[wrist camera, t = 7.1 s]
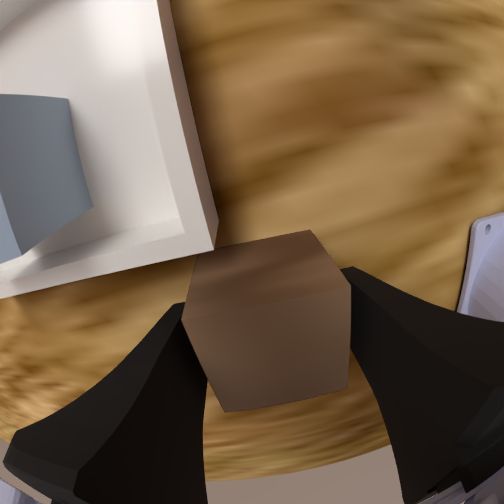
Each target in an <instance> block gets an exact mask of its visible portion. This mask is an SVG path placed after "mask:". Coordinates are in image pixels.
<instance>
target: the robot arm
mask: <svg viewBox="0 0 504 504" xmlns="http://www.w3.org/2000/svg"><path fill="white" fill-rule="evenodd" d="M340 271H341V272H342V274H343V275H344V277H345V278H346V279H347V281H348V282H349V284H350V285H351V334H350V348H351V350H352V352H353V354H354V356H355V358H356V359H357V361H358V363H359V365H360V367H361V369H362V371H363V373H364V375H365V377H366V378H367V380H368V382H369V384H370V386H371V388H372V390H373V392H374V395H375V397H376V399H377V402H378V405H379V408H380V410H381V413H382V416H383V419H384V422H385V425H386V428H387V432H388V435H389V438H390V442H391V445H392V449H393V453H394V457H395V461H396V465H397V469H398V474H399V479H400V484H401V490H402V497H403V501H404V504H418V503H419V504H460V503H462V502H464V501H465V500H466V501H465V502H464V504H504V212H502V213H498V214H494V215H491V216H487V217H483V218H479V219H477V220H476V221H475V222H474V223H473V225H472V229H471V237H470V245H469V253H468V260H467V266H466V272H465V277H464V282H463V287H462V292H461V296H460V301H459V305H458V309H457V312H455V311H451V310H449V309H446V308H443V307H440V306H437V305H434V304H431V303H429V302H426V301H424V300H421V299H419V298H417V297H414V296H412V295H410V294H408V293H405V292H403V291H401V290H399V289H397V288H395V287H393V286H391V285H389V284H387V283H385V282H383V281H381V280H379V279H377V278H375V277H373V276H371V275H369V274H368V273H366V272H364V271H362V270H359V269H357V268H355V267H353V266H352V267H348V268H344V269H340ZM184 306H185V302H182V303H176V304H174V305H172V306H171V307H170V308H169V310H168V311H167V312H166V313H165V314H164V315H163V316H162V317H161V319H160V320H159V321H158V322H157V323H156V324H155V326H154V327H153V328H152V329H151V330H150V331H149V333H148V334H147V335H146V336H145V337H144V338H143V339H142V341H141V342H140V343H139V344H138V345H137V346H136V347H135V348H134V349H133V350H132V351H131V352H130V353H129V354H128V355H127V357H126V358H125V359H124V360H123V361H122V362H121V363H120V364H119V365H118V366H117V367H116V368H114V369H113V370H112V371H111V372H110V373H109V374H108V375H107V376H105V377H104V378H103V379H102V380H101V381H100V382H98V383H97V384H96V385H95V386H93V387H92V388H91V389H89V390H88V391H87V392H85V393H84V394H83V395H81V396H80V397H79V398H77V399H76V400H74V401H73V402H71V403H70V404H68V405H67V406H65V407H64V408H62V409H60V410H59V411H57V412H55V413H53V414H52V415H50V416H48V417H46V418H44V419H42V420H40V421H38V422H36V423H33V424H31V425H29V426H27V427H25V428H22V429H20V430H17V431H16V432H15V434H14V436H13V438H12V440H11V443H10V445H9V448H8V450H7V453H6V455H5V457H4V460H3V463H4V466H5V467H6V468H7V469H8V470H9V471H10V472H11V473H12V474H13V475H15V476H16V477H18V478H19V479H20V480H22V481H23V482H25V483H26V484H28V485H29V486H31V487H32V488H34V489H35V490H37V491H38V492H40V493H42V494H44V495H45V496H47V497H48V498H50V499H52V502H51V504H208V501H207V493H206V485H205V473H204V460H203V418H204V409H205V399H206V390H207V381H208V379H207V377H206V374H205V372H204V370H203V368H202V366H201V364H200V362H199V359H198V357H197V355H196V353H195V351H194V348H193V346H192V344H191V342H190V339H189V337H188V335H187V332H186V330H185V328H184V325H183V323H182V320H181V318H182V314H183V310H184ZM436 494H437V495H436ZM434 495H435V496H434ZM432 496H433V497H432ZM430 497H431V498H430ZM428 498H430V499H428ZM426 499H428V500H426ZM424 500H426V501H424ZM422 501H424V502H422ZM420 502H422V503H420ZM0 504H42V503H40V502H38V501H36V500H34V499H33V498H32V497H30V496H29V495H27V494H25V493H24V492H22V491H21V490H19V489H17V488H16V487H14V486H13V485H11V484H9V483H8V482H6V481H4V480H3V479H1V478H0Z"/></svg>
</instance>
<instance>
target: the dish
mask: <svg viewBox="0 0 504 504" xmlns="http://www.w3.org/2000/svg"><path fill="white" fill-rule="evenodd" d="M0 94H20V95H36V96H48V97H58V98H67V99H68V102H69V108H70V114H71V119H72V125H73V130H74V135H75V139H76V144H77V148H78V153H79V157H80V161H81V165H82V169H83V172H84V176H85V180H86V183H87V187H88V190H89V194H90V197H91V200H92V203H93V207H92V208H91V209H89V210H87V211H86V212H84V213H83V214H81V215H79V216H78V217H76V218H75V219H73V220H72V221H70V222H69V223H67V224H66V225H64V226H63V227H61V228H60V229H58V230H57V231H55V232H54V233H52V234H51V235H50V236H48V237H47V238H45V239H44V240H42V241H41V242H40V243H38V244H37V245H36V246H34V247H33V248H32V249H30V250H29V251H28V252H26V253H25V254H24V255H22V256H20V257H17V258H15V259H12V260H9V261H7V262H4V263H2V264H0V299H2V298H6V297H10V296H14V295H19V294H23V293H27V292H31V291H35V290H40V289H44V288H48V287H52V286H56V285H61V284H65V283H69V282H74V281H78V280H82V279H87V278H91V277H95V276H100V275H104V274H108V273H113V272H117V271H122V270H126V269H130V268H135V267H139V266H144V265H148V264H153V263H157V262H162V261H166V260H171V259H175V258H180V257H184V256H189V255H193V254H198V253H203V252H207V251H212V250H214V246H215V240H216V234H217V228H218V223H219V219H218V215H217V211H216V207H215V203H214V199H213V195H212V191H211V187H210V183H209V179H208V175H207V171H206V167H205V163H204V159H203V154H202V150H201V146H200V142H199V137H198V133H197V129H196V125H195V120H194V116H193V111H192V107H191V103H190V98H189V94H188V89H187V84H186V80H185V75H184V70H183V66H182V61H181V56H180V51H179V47H178V42H177V37H176V32H175V27H174V22H173V17H172V11H171V6H170V1H169V0H0Z"/></svg>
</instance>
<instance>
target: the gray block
mask: <svg viewBox="0 0 504 504" xmlns="http://www.w3.org/2000/svg"><path fill="white" fill-rule="evenodd" d="M92 207H93V203H92V200H91V197H90V194H89V190H88V187H87V183H86V180H85V176H84V172H83V169H82V165H81V161H80V157H79V153H78V148H77V144H76V139H75V135H74V130H73V125H72V119H71V114H70V108H69V102H68V99H67V98H58V97H48V96H36V95H20V94H0V264H2V263H4V262H7V261H9V260H12V259H15V258H17V257H20V256H22V255H24V254H25V253H26V252H28V251H29V250H30V249H32V248H33V247H34V246H36V245H37V244H38V243H40V242H41V241H42V240H44V239H45V238H47V237H48V236H50V235H51V234H52V233H54V232H55V231H57V230H58V229H60V228H61V227H63V226H64V225H66V224H67V223H69V222H70V221H72V220H73V219H75V218H76V217H78V216H79V215H81V214H83V213H84V212H86V211H87V210H89V209H91V208H92Z"/></svg>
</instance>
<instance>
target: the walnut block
mask: <svg viewBox="0 0 504 504" xmlns="http://www.w3.org/2000/svg"><path fill="white" fill-rule="evenodd" d="M181 320H182V323H183V325H184V328H185V330H186V332H187V335H188V337H189V339H190V342H191V344H192V346H193V348H194V351H195V353H196V355H197V357H198V359H199V362H200V364H201V366H202V368H203V370H204V372H205V374H206V377H207V379H208V381H209V383H210V385H211V387H212V389H213V391H214V393H215V395H216V397H217V399H218V401H219V403H220V405H221V407H222V409H223V410H224V412H225V413H226V412H235V411H242V410H250V409H256V408H263V407H269V406H275V405H280V404H285V403H290V402H295V401H300V400H304V399H309V398H313V397H317V396H321V395H325V394H329V393H333V392H337V391H340V390H344V389H347V387H348V374H349V358H350V334H351V285H350V284H349V282H348V281H347V279H346V278H345V277H344V275H343V274H342V272H341V271H340V269H339V268H338V267H337V265H336V264H335V263H334V261H333V260H332V258H331V257H330V256H329V254H328V253H327V252H326V250H325V249H324V247H323V246H322V245H321V243H320V242H319V241H318V239H317V238H316V237H315V235H314V234H313V233H312V231H311V230H305V231H300V232H295V233H290V234H285V235H280V236H275V237H270V238H265V239H260V240H255V241H250V242H246V243H241V244H236V245H231V246H226V247H221V248H216V249H214V250H212V251H207V252H203V253H199V254H198V257H197V261H196V265H195V268H194V272H193V276H192V279H191V283H190V287H189V291H188V295H187V298H186V302H185V306H184V310H183V314H182V318H181Z"/></svg>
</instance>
